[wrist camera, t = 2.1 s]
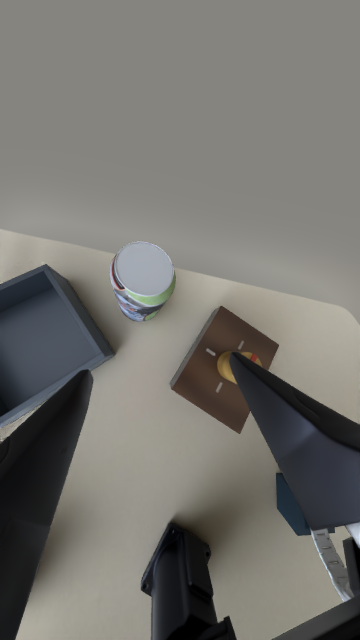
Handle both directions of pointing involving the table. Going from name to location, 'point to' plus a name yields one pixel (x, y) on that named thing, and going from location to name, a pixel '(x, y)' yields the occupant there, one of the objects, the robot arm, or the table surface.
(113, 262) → the beverage can
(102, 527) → the table surface
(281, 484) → the watch
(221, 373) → the yellow dial knob
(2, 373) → the dark gray square tray
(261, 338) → the brown dial base
